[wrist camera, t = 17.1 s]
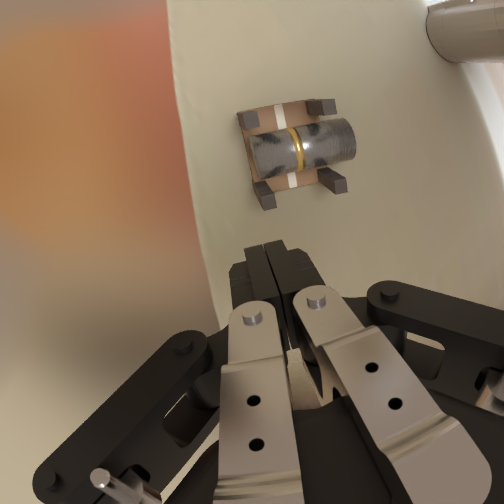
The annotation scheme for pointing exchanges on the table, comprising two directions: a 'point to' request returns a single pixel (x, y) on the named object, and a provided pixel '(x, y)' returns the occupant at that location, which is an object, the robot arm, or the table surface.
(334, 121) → the grey cylinder
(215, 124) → the table surface
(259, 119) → the cylinder holder stand
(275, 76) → the table surface
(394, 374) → the robot arm
